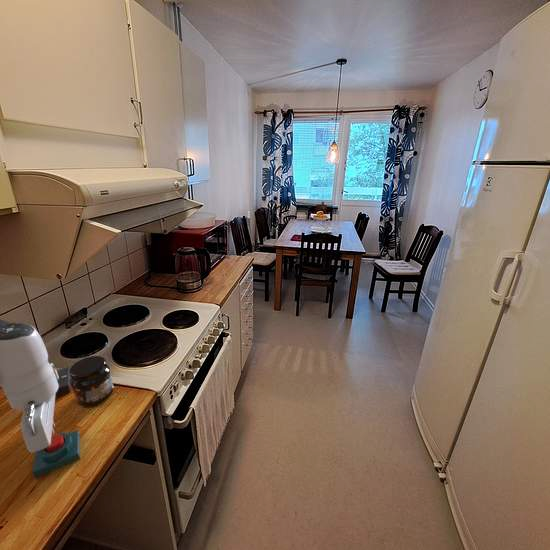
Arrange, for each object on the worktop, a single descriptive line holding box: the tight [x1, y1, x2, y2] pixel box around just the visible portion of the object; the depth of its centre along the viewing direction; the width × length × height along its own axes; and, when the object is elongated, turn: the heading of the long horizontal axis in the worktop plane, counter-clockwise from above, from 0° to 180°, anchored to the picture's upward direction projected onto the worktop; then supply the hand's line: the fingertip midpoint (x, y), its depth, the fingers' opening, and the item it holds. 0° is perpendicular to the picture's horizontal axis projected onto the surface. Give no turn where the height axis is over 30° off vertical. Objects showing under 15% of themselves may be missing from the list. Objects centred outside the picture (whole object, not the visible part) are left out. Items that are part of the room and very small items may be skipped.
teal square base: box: [32, 429, 81, 479], centre depth 72 cm, size 9×8×4 cm
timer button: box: [46, 433, 64, 452], centre depth 71 cm, size 4×4×2 cm
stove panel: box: [55, 366, 72, 398], centre depth 93 cm, size 10×10×3 cm
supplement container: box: [69, 355, 115, 408], centre depth 89 cm, size 10×10×12 cm
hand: (50, 432), depth 70 cm, fingers closed
